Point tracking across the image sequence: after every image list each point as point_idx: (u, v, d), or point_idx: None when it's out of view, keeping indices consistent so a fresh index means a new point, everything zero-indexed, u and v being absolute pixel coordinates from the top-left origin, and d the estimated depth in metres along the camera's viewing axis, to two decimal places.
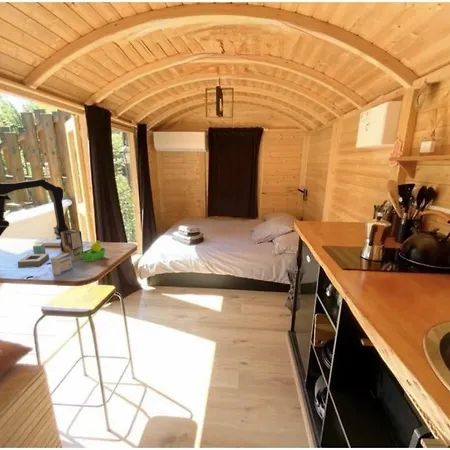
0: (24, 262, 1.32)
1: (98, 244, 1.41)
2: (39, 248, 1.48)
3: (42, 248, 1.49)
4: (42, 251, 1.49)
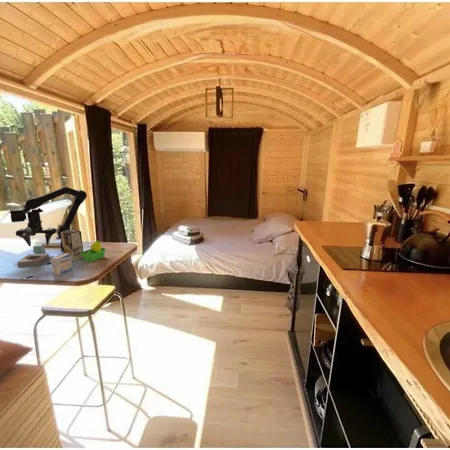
0: (24, 262, 1.32)
1: (98, 244, 1.41)
2: (39, 248, 1.48)
3: (42, 248, 1.49)
4: (42, 251, 1.49)
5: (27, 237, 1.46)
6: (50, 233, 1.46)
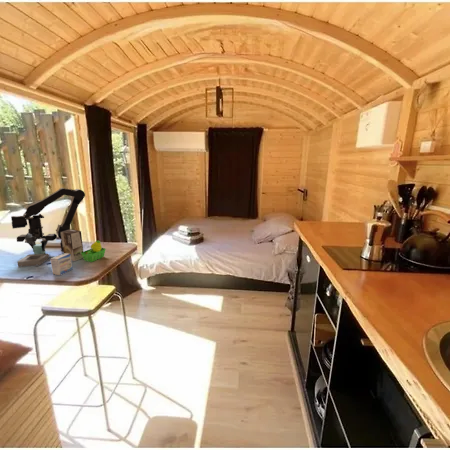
0: (24, 262, 1.32)
1: (98, 244, 1.41)
2: (39, 248, 1.48)
3: None
4: (42, 251, 1.49)
5: (32, 243, 1.48)
6: (51, 239, 1.47)
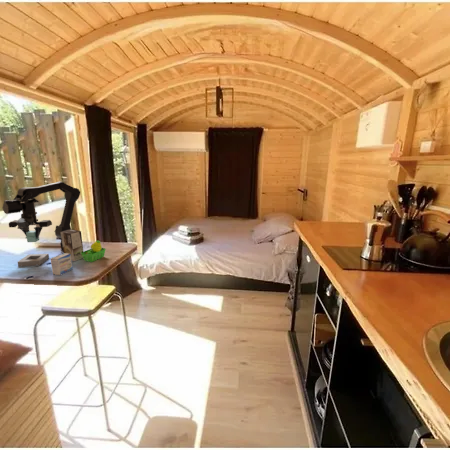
0: (24, 262, 1.32)
1: (98, 244, 1.41)
2: (32, 235, 1.38)
3: None
4: (36, 238, 1.40)
5: (26, 229, 1.39)
6: (45, 225, 1.37)
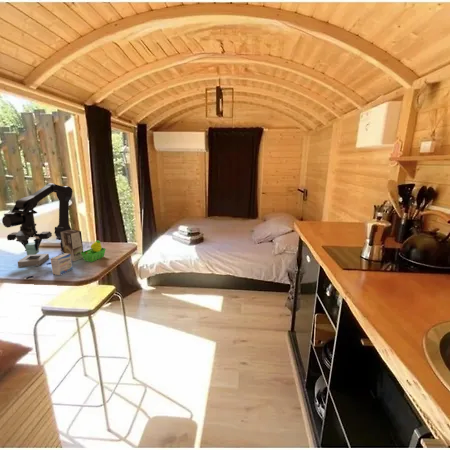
0: (24, 262, 1.32)
1: (98, 244, 1.41)
2: (32, 247, 1.35)
3: (35, 247, 1.37)
4: (35, 250, 1.36)
5: (25, 241, 1.35)
6: (45, 237, 1.34)
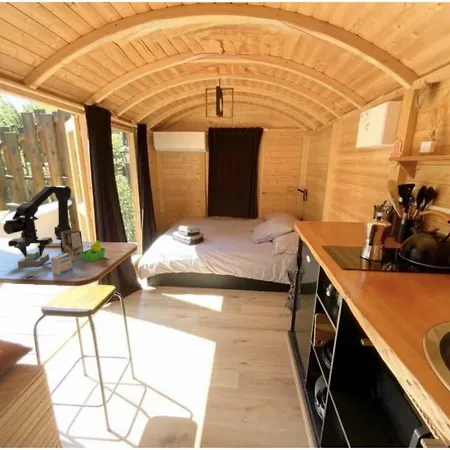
0: (24, 262, 1.32)
1: (98, 244, 1.41)
2: (33, 256, 1.36)
3: (37, 256, 1.38)
4: None
5: (23, 247, 1.35)
6: (46, 243, 1.35)
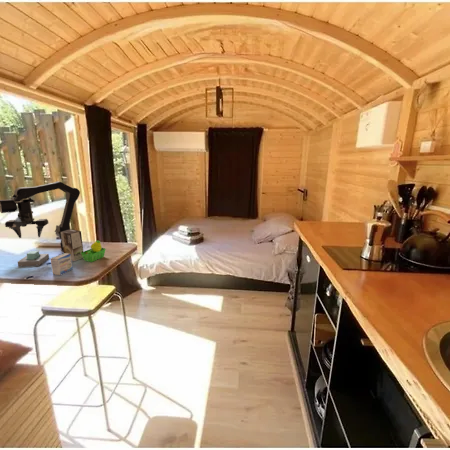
0: (24, 262, 1.32)
1: (98, 244, 1.41)
2: (33, 256, 1.36)
3: (37, 256, 1.38)
4: None
5: (17, 228, 1.40)
6: (42, 224, 1.40)
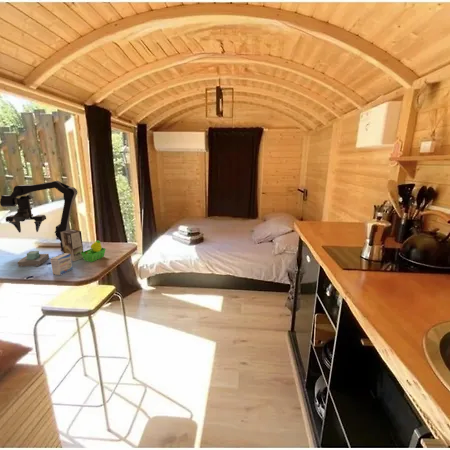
0: (24, 262, 1.32)
1: (98, 244, 1.41)
2: (33, 256, 1.36)
3: (37, 256, 1.38)
4: None
5: (17, 223, 1.49)
6: (39, 219, 1.48)
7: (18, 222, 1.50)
